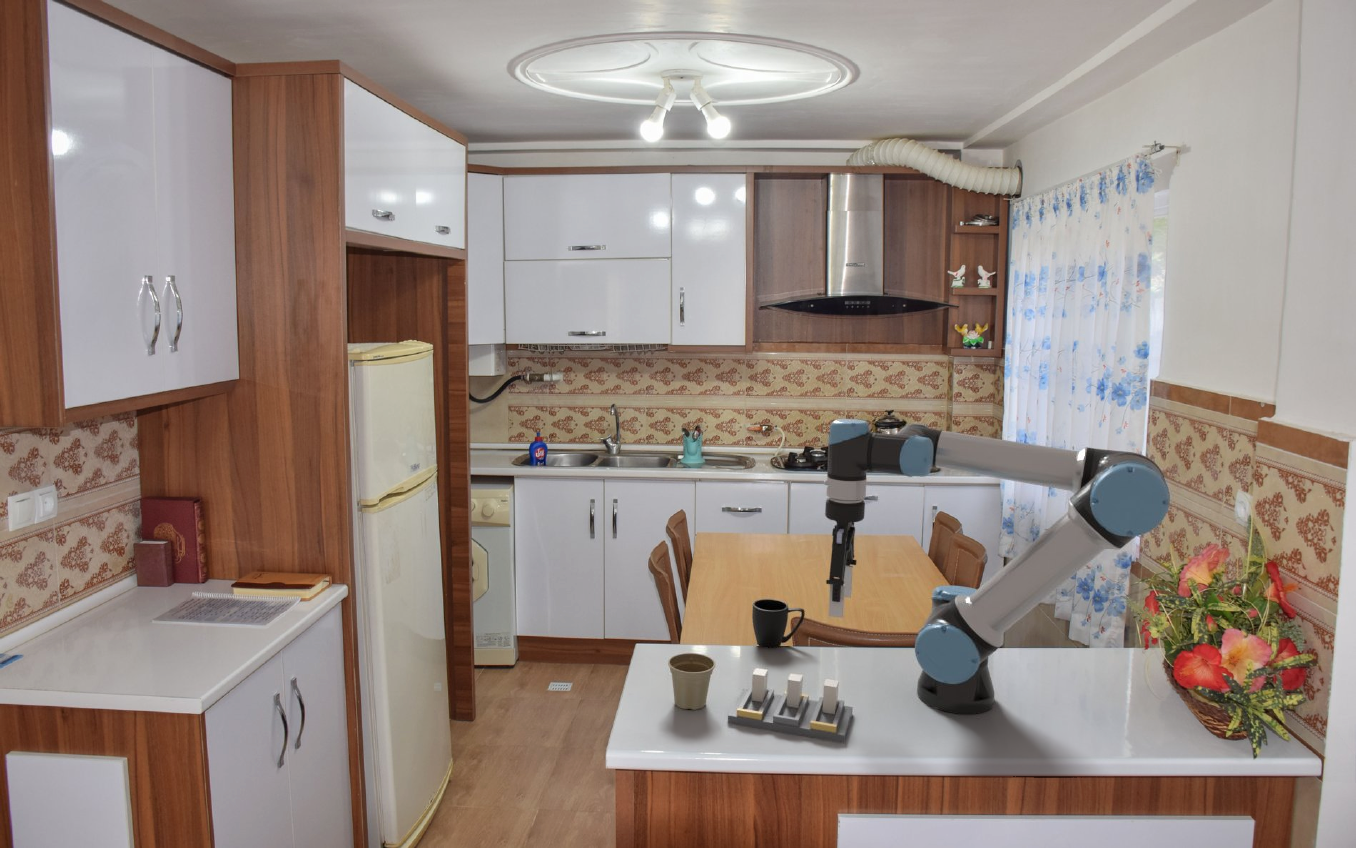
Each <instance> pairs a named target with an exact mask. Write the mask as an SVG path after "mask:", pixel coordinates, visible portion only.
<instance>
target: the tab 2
mask: <svg viewBox="0 0 1356 848" xmlns="http://www.w3.org/2000/svg"><path fill="white" fill-rule="evenodd" d="M803 677H804V675H803V674H796V673H790V674H789V675H788V678H787V686H786V687H787V689H786V690H787V706H788V707H794V708H799V707H800V704H801V702H802V694H803V681H804V680H803V679H804V678H803Z"/></svg>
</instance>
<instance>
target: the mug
mask: <svg viewBox="0 0 1356 848" xmlns="http://www.w3.org/2000/svg"><path fill="white" fill-rule="evenodd" d="M751 612H752V613H751V614H752V615H751V618H752V628H753V631H754V636H755V640H756V644H757V645H758V646H759V647H760V648H764V649H777V648H779V647H780V646H782V644H785V643H787V642H788V641H789V640H790V639H791V638H792V637H793V636H794V634H796V632H797V630H798V629H799V628H800V626H801V625H802V623H803V621H804V619H805V609H804V608H801V607H792V608H791V607H790V608H789V604H788V603H787V602H785V601H783V600H779V599H773V598H763V599H757V600H755V601H753V603H752V611H751ZM792 612H801V614H800V618H799V620H798V622H797V624H795V626H794V627H793V629H792V630H791V631H790V633H788V634H787V635H785V632H786V629H787V625H788V620H789V619H788V618H789V613H792Z"/></svg>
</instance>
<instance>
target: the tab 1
mask: <svg viewBox="0 0 1356 848" xmlns="http://www.w3.org/2000/svg"><path fill="white" fill-rule="evenodd" d="M768 674H769V670H768V669H766V668H765V669H764V668H758V667H756V668H755V669H754V670H753V673H752V679H751V682H752V683H751V686H752V701H758V702H764V700H765V698H766V696H767V688H768V678H769V677H768V676H769V675H768Z"/></svg>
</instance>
